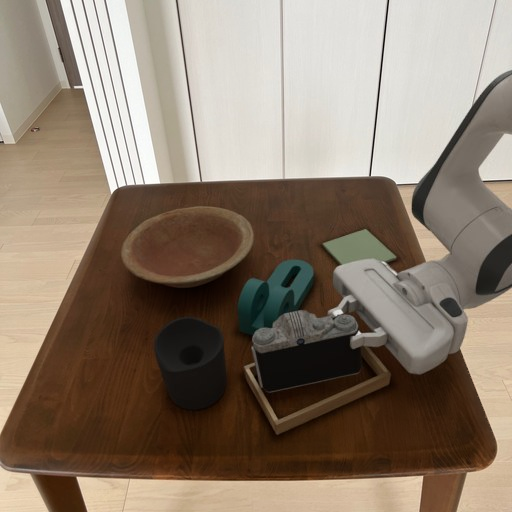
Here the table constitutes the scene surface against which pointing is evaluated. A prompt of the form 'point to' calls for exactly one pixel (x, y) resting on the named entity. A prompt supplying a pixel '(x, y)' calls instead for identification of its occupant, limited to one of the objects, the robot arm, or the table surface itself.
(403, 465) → the table surface
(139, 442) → the table surface
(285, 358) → the camera
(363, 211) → the table surface
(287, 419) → the rectangular wooden frame
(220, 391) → the pen holder
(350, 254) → the mat
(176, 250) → the bowl
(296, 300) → the bracket
